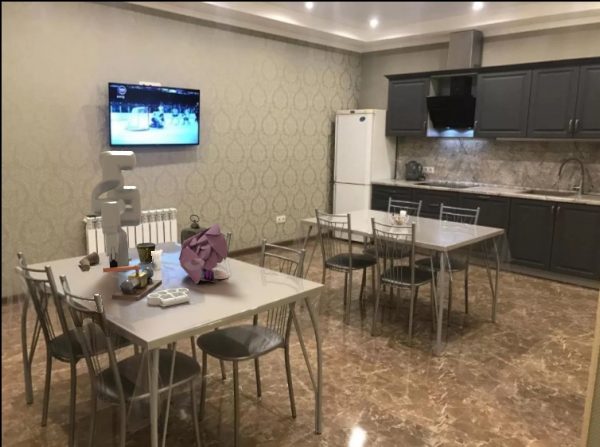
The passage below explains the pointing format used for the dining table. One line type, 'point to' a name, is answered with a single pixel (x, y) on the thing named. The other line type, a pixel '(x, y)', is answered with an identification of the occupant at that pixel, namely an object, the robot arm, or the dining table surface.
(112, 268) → the lever
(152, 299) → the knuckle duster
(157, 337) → the dining table surface
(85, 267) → the pipe
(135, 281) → the water pipe
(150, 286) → the valve board
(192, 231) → the tabletop clock
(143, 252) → the ceramic cup
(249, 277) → the dining table surface
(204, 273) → the flower arrangement
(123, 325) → the dining table surface
